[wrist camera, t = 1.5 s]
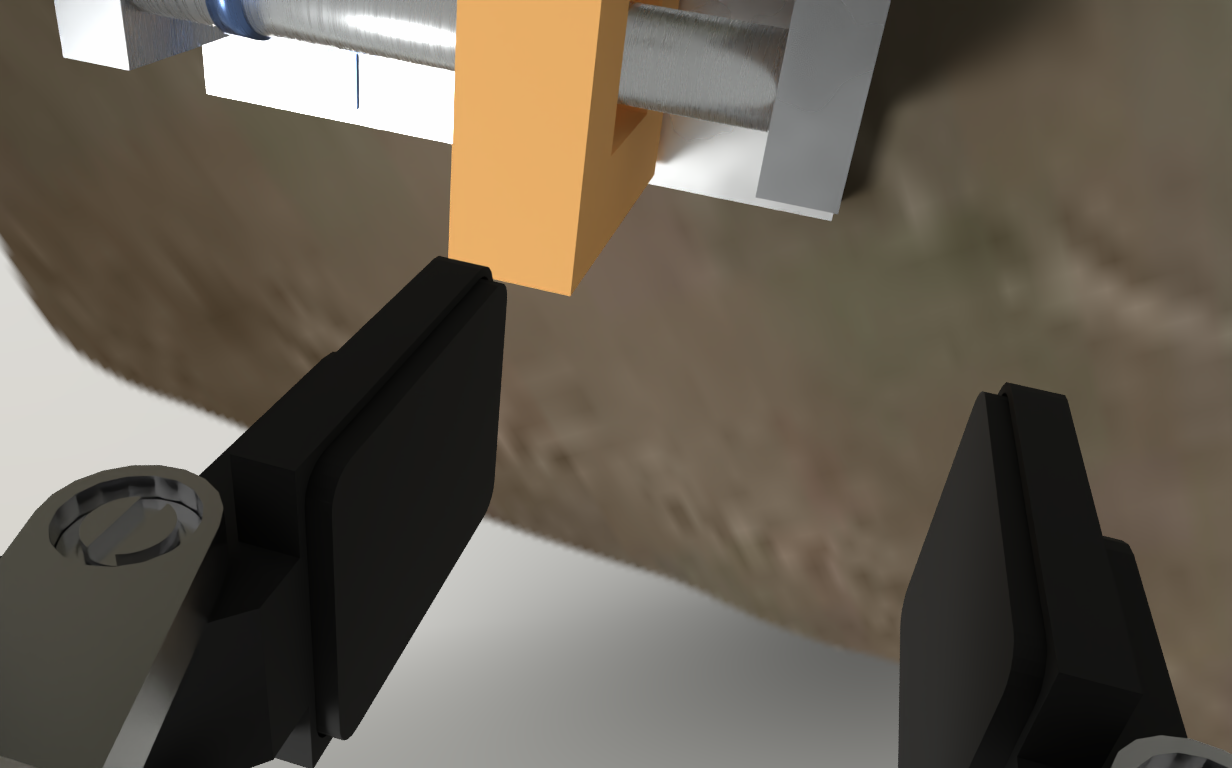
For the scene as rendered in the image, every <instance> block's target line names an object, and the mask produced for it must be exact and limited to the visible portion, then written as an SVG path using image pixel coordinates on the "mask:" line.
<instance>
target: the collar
mask: <svg viewBox="0 0 1232 768" xmlns="http://www.w3.org/2000/svg"><path fill="white" fill-rule="evenodd" d="M629 1H633V2H638V3H644V4H650V5H655V6H661V7H667V8H673V9H678V7H679V0H457V19H456V48H455V77H454V106H453V136H452V165H451V194H450V223H449V252H448V258H450V259H455V260H459V261H464V262H468V263H473V264H477V265H482V266H486V267H489V268H490V270H491V271H492V277H493V279H496V280H500V281H505V282H509V283H514V284H518V285H522V286H527V287H531V288H536V289H540V290H545V291H549V292H554V293H558V294H563V295H567V296H571V295H572V293H573V292H574V290H575V289H576V287H577V286H578V284H579V283H580V282H581V280H582V279H583V277H584V276H585V274H586V273H587V271H588V270H589V269H590V267H591V266H592V264H593V263H594V261H595V260H596V258H597V257H598V255H599V254H600V253H601V251H602V250H603V248H604V247H605V245H606V244H607V242H608V241H609V240H610V238H611V237H612V235H613V234H614V232H615V231H616V229H617V228H618V227H619V225H620V224H621V222H622V221H623V219H624V218H625V216H626V215H627V214H628V212H629V211H630V209H631V208H632V206H633V205H634V203H635V202H636V201H637V199H638V198H639V196H640V195H641V193H642V192H643V190H644V189H645V188H646V186H647V185H648V183H649V182H650V180H651V179H652V177H653V176H654V174H655V167H656V160H657V153H658V146H659V139H660V132H661V125H662V118H663V112H658V111H653V110H648V109H643V108H638V107H632V106H627V105H622V104H617V101H618V93H619V85H620V76H621V68H622V60H623V51H624V43H625V34H626V26H627V18H628V9H629Z"/></svg>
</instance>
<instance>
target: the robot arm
mask: <svg viewBox="0 0 1232 768" xmlns="http://www.w3.org/2000/svg"><path fill="white" fill-rule="evenodd" d="M506 305H507V290H506V286H505V285H504V284H502V283H498V282H493V277H492V271H491V270H490V268H489V267H486V266H482V265H477V264H473V263H468V262H464V261H459V260H455V259H450V258H446V257H441V256H438V257H436V258H434V259H433V260H432V261H431V262H430V263H429V264H428V265H427V266H426V267H425V268H424V269H423V270H422V271H421V272H420V273H419V274H418V275H416V276H415V277H414V278H413V279H412V280H411V281H410V282H409V283H408V284H407V285H406V286H405V287H404V288H403V289H402V290H401V291H400V292H399V293H398V294H397V295H396V296H395V297H393V298H392V299H391V300H390V301H389V302H388V303H387V304H386V305H385V306H384V307H383V308H382V309H381V310H380V311H379V312H378V313H377V314H376V315H375V316H374V317H373V318H371V319H370V320H369V321H368V322H367V323H366V324H365V325H364V326H363V327H362V328H361V329H360V330H359V331H358V332H357V333H356V334H355V335H354V336H353V337H352V338H351V339H350V340H348V341H347V342H346V343H345V344H344V345H343V346H342V347H341V348H340V349H339V350H338V351H337V352H332V353H330V354H329V355H327V356H326V357H324V358H323V359H322V360H321V361H320V362H319V363H318V364H317V365H316V366H314V367H313V368H312V369H311V370H310V371H309V372H308V373H307V374H306V375H305V376H304V377H303V378H302V379H301V380H300V381H299V382H298V383H296V384H295V385H294V386H293V387H292V388H291V389H290V390H289V391H288V392H287V393H286V394H285V395H284V396H283V397H282V398H281V399H280V400H278V401H277V402H276V403H275V404H274V405H273V406H272V407H271V408H270V409H269V410H268V411H267V412H266V413H265V414H264V415H263V416H262V417H260V418H259V419H258V420H257V421H256V422H255V423H254V424H253V425H252V426H251V427H250V428H249V429H248V430H247V431H246V432H245V433H244V434H242V435H241V436H240V437H239V438H238V439H237V440H236V441H235V442H234V443H233V444H232V445H231V446H230V447H229V448H228V449H227V450H226V451H224V452H223V453H222V454H221V455H220V456H219V457H218V458H217V459H216V460H215V461H214V462H213V463H212V464H211V465H210V466H209V467H208V468H206V469H205V470H204V471H203V472H202V473H201V474H200V475H199V476H198V475H196V474H193V473H191V472H189V471H187V470H184V469H178V468H173V467H167V466H162V465H142V466H141V465H138V466H137V465H134V466H128V467H121V468H116V469H110V470H104V471H101V472H98V473H96V474H93V475H90V476H87V477H84V478H81V479H79V480H76V481H74V482H72V483H71V484H69V485H67V486H66V487H64V488H62V489H61V490H59V491H57V492H55V493H54V494H52V495H51V496H50V497H49V498H48V499H47V500H46V501H45V502H44V503H43V504H42V505H41V506H40V507H39V508H38V509H37V510H36V511H35V512H34V513H33V515H32V516H31V517H30V519H29V520H28V522H27V523H26V524H25V526H24V527H23V528H22V529H21V531H20V532H19V534H18V535H17V536H16V538H15V539H14V540H13V542H12V543H11V544H10V546H9V547H8V549H7V550H6V551H5V553H4V554H3V555H2V556H0V768H251V767H254V766H257V765H260V764H263V763H265V762H268V761H271V760H273V759H274V758H277V759H280V760H284V761H287V762H290V763H293V764H297V765H300V766H303V767H306V768H314V767H315V765H316V763H317V762H318V760H319V759H320V757H321V755H322V754H323V752H324V750H325V749H326V747H327V746H328V744H329V742H330V741H331V739H332V738H333V737H334V738H337V739H341V740H347V739H348V738H349V737H350V736H352V734H353V733H354V732H355V730H356V728H357V727H358V725H359V724H360V722H361V720H362V719H363V717H364V715H365V714H366V712H367V710H368V709H369V707H370V705H371V704H372V702H373V700H374V699H375V697H376V695H377V694H378V692H379V690H380V689H381V687H382V685H383V684H384V682H385V680H386V679H387V677H388V675H389V674H390V672H391V670H392V669H393V667H394V665H395V664H396V662H397V660H398V659H399V657H400V655H401V654H402V652H403V650H404V649H405V647H406V645H407V644H408V642H409V640H410V639H411V637H412V635H413V634H414V632H415V630H416V629H417V627H418V625H419V624H420V622H421V620H422V619H423V617H424V615H425V614H426V612H427V610H428V609H429V607H430V605H431V604H432V602H433V600H434V599H435V597H436V595H437V594H438V592H439V590H440V589H441V587H442V585H443V584H444V582H445V580H446V579H447V577H448V575H449V574H450V572H451V570H452V569H453V567H454V565H455V564H456V562H457V560H458V559H459V557H460V555H461V554H462V552H463V550H464V549H465V547H466V545H467V544H468V542H469V540H470V539H471V537H472V535H473V534H474V532H475V530H476V529H477V527H478V525H479V524H480V522H481V520H482V519H483V517H484V515H485V513H486V511H487V509H488V506H489V504H490V500H491V497H492V493H493V488H494V479H495V464H496V450H497V435H498V421H499V406H500V392H501V377H502V363H503V349H504V334H505V320H506ZM899 688H900V692H899V754H898V768H1232V755H1231V754H1230V753H1228V752H1226V751H1224V750H1222V749H1219V748H1216V747H1213V746H1210V745H1207V744H1204V743H1201V742H1198V741H1195V740H1193V739H1188V738H1187V735H1186V731H1185V728H1184V724H1183V721H1182V718H1181V714H1180V711H1179V707H1178V704H1177V701H1176V697H1175V694H1174V690H1173V687H1172V683H1171V680H1170V677H1169V673H1168V670H1167V666H1166V663H1165V660H1164V656H1163V653H1162V649H1161V646H1160V643H1159V639H1158V636H1157V632H1156V629H1155V625H1154V622H1153V619H1152V615H1151V612H1150V608H1149V605H1148V602H1147V598H1146V595H1145V591H1144V588H1143V585H1142V581H1141V578H1140V574H1139V571H1138V567H1137V564H1136V561H1135V557H1134V554H1133V552H1132V550H1131V548H1130V546H1129V545H1128V544H1127V543H1125V542H1124V541H1122V540H1118V539H1114V538H1110V537H1106V536H1102V532H1101V528H1100V524H1099V520H1098V517H1097V513H1096V509H1095V505H1094V501H1093V497H1092V493H1091V489H1090V486H1089V482H1088V478H1087V474H1086V470H1085V466H1084V462H1083V458H1082V454H1081V451H1080V447H1079V443H1078V439H1077V435H1076V431H1075V427H1074V423H1073V420H1072V416H1071V412H1070V408H1069V404H1068V400H1067V398H1066V396H1065V395H1061V394H1057V393H1052V392H1048V391H1043V390H1039V389H1034V388H1030V387H1025V386H1021V385H1016V384H1012V383H1007V382H1006V383H1005V384H1004V385H1003V386H1002V388H1001V390H1000V391H999V393H998V395H996V394H992V393H987V392H983V391H982V392H981V393H980V394H979V395H978V397H977V399H976V401H975V404H974V406H973V409H972V412H971V415H970V417H969V420H968V423H967V426H966V428H965V431H964V434H963V437H962V439H961V442H960V445H959V448H958V450H957V453H956V456H955V459H954V461H953V464H952V467H951V470H950V473H949V475H948V478H947V481H946V484H945V486H944V489H943V492H942V495H941V497H940V500H939V503H938V506H937V508H936V511H935V514H934V517H933V519H932V522H931V525H930V528H929V531H928V533H927V536H926V539H925V542H924V544H923V547H922V550H921V553H920V555H919V558H918V561H917V564H916V566H915V569H914V572H913V575H912V577H911V580H910V583H909V586H908V589H907V592H906V595H905V599H904V603H903V608H902V615H901V625H900V687H899Z"/></svg>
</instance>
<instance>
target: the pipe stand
mask: <svg viewBox="0 0 1232 768" xmlns="http://www.w3.org/2000/svg"><path fill="white" fill-rule="evenodd" d="M54 2H55V8H56V14H57V21H58V27H59V33H60V39H61V45H62V51H63V57H65V58H70V59H75V60H80V61H85V62H90V63H95V64H100V65H105V66H110V67H115V68H120V69H124V70H132V69H135V68H138V67H141V66H144V65H147V64H150V63H153V62H156V61H159V60H161V59H164V58H167V57H170V56H173V55H176V54H179V53H182V52H185V51H188V50H191V49H193V48H196V47H199V46H202V48H203V59H204V69H205V80H206V91H207V94H211V95H216V96H221V97H226V98H231V99H236V100H241V101H246V102H250V103H255V104H260V105H265V106H270V107H275V108H280V109H285V110H290V111H295V112H299V113H304V114H309V115H314V116H319V117H324V118H329V119H334V120H339V121H344V122H349V123H353V124H358V125H363V126H368V127H373V128H378V129H383V130H388V131H393V132H398V133H402V134H407V135H412V136H417V137H422V138H427V139H432V140H437V141H442V142H447V143H452V136H453V106H454V77H455V48H456V19H457V0H54ZM890 2H891V0H679V7H678V9H673V8H667V7H661V6H655V5H650V4H644V3H638V2H633V1H629V9H628V18H627V26H626V34H625V43H624V51H623V60H622V68H621V76H620V85H619V93H618V101H617V104H622V105H627V106H632V107H638V108H643V109H648V110H653V111H658V112H663V118H662V125H661V132H660V139H659V146H658V153H657V160H656V167H655V174H654V176H653V177H652V179H651V180H650V182H649V183H648V184H653V185H658V186H662V187H667V188H672V189H677V190H682V191H687V192H692V193H697V194H702V195H707V196H711V197H716V198H721V199H726V200H731V201H736V202H741V203H746V204H751V205H756V206H760V207H765V208H770V209H775V210H780V211H785V212H790V213H795V214H800V215H805V216H810V217H814V218H819V219H824V220H829V221H831V220H832V216H833V213H835V214H838V211H839V207H840V203H841V199H842V195H843V191H844V187H845V183H846V179H847V175H848V171H849V167H850V163H851V159H852V155H853V151H854V147H855V143H856V139H857V135H858V131H859V127H860V123H861V119H862V115H863V111H864V107H865V103H866V99H867V94H868V90H869V86H870V82H871V78H872V74H873V70H874V66H875V62H876V58H877V54H878V50H879V46H880V42H881V38H882V34H883V30H884V26H885V22H886V18H887V14H888V10H889V6H890Z"/></svg>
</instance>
